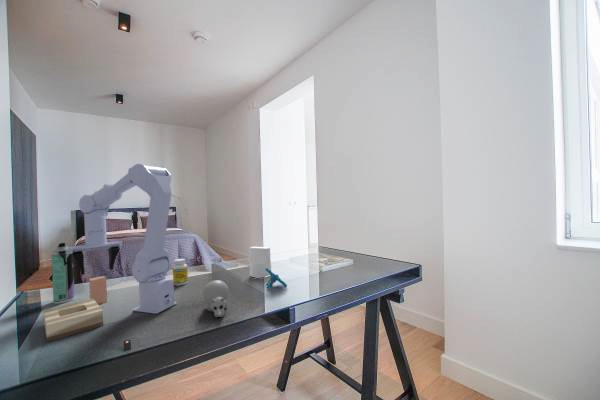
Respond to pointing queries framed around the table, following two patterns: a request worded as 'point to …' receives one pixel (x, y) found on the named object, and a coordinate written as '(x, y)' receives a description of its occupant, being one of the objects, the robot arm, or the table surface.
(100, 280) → the peg
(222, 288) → the grey skull
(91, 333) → the table surface
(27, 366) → the table surface
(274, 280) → the teal crossed bar figure
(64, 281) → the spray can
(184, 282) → the supplement bottle
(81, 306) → the socket block
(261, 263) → the white rectangular block
